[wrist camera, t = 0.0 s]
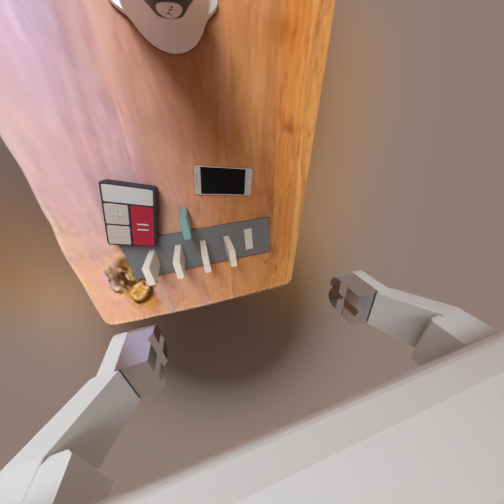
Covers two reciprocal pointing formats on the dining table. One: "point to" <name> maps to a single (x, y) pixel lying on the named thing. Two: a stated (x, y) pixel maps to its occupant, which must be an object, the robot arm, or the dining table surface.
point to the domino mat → (240, 233)
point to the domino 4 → (205, 256)
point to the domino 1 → (151, 267)
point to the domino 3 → (185, 223)
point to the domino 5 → (230, 251)
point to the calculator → (130, 213)
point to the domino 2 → (179, 262)
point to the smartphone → (222, 180)
